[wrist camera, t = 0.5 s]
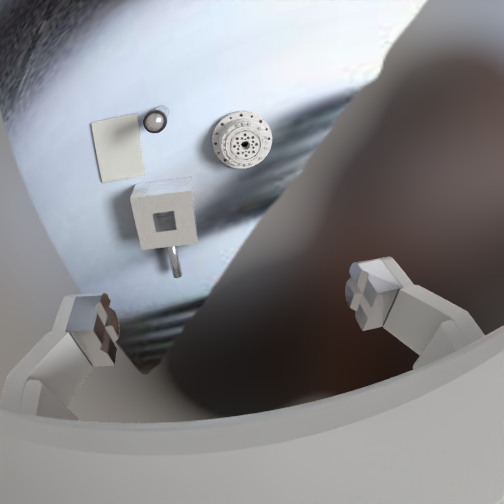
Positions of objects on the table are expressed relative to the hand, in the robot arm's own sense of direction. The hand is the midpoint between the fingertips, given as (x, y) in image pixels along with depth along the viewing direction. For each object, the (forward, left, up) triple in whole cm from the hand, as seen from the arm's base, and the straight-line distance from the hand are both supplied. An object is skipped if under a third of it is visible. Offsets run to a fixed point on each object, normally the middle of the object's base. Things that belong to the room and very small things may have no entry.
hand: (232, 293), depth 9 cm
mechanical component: (+6, +6, -42) cm, 43 cm away
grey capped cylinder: (0, -6, -42) cm, 42 cm away
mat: (+5, -14, -42) cm, 44 cm away
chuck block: (+22, -7, -42) cm, 48 cm away
